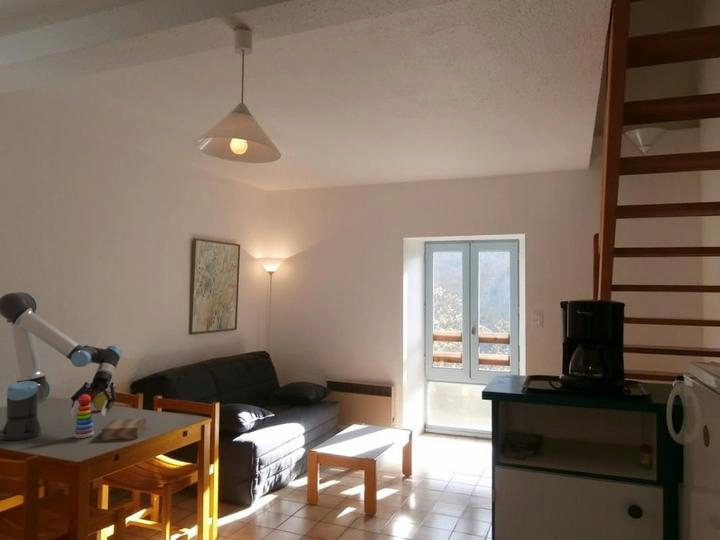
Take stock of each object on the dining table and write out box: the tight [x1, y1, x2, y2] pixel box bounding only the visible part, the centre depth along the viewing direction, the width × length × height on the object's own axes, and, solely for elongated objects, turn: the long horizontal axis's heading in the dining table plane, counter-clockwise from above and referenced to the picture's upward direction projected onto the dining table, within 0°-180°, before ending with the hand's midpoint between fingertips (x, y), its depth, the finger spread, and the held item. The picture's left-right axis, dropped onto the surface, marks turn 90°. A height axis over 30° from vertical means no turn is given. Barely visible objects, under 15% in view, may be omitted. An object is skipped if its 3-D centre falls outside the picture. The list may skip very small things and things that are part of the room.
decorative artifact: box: [92, 391, 115, 412], centre depth 282 cm, size 10×7×10 cm
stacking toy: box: [73, 394, 95, 439], centre depth 234 cm, size 8×8×19 cm
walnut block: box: [100, 418, 147, 441], centre depth 237 cm, size 15×15×5 cm
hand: (87, 414), depth 235 cm, fingers open, 13 cm apart
